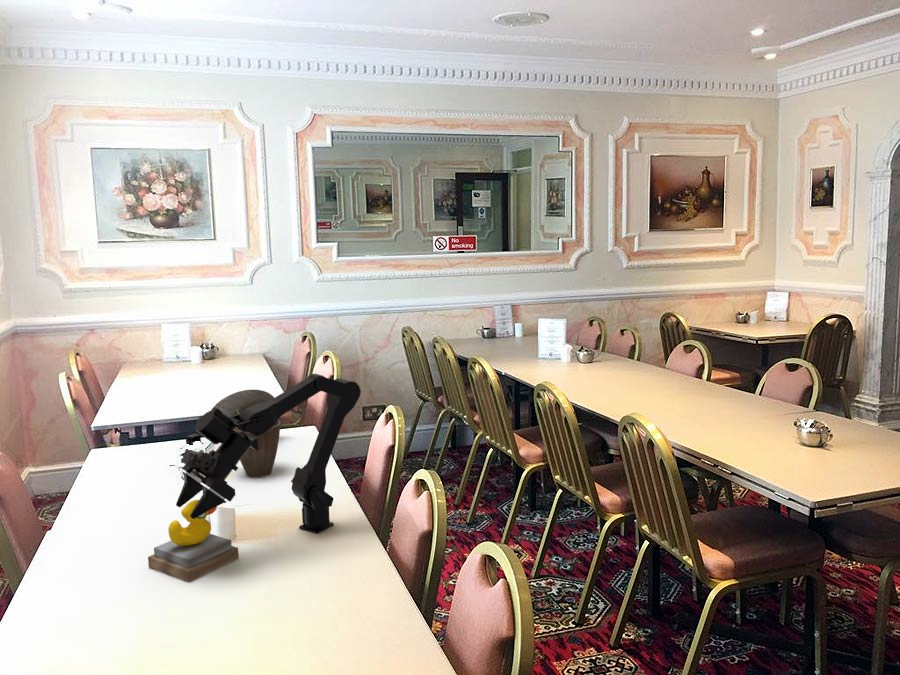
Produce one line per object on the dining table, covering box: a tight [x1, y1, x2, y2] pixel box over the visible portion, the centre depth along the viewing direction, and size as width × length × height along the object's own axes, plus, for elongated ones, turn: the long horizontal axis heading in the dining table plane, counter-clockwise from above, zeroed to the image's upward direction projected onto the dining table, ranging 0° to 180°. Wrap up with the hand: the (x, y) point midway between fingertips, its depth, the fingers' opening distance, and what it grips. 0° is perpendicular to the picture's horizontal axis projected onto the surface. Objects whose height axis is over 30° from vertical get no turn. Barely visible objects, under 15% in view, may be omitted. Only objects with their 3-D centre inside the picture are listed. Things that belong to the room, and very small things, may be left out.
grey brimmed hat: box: [211, 389, 281, 436], centre depth 264 cm, size 25×18×25 cm
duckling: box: [167, 499, 218, 546], centre depth 174 cm, size 11×5×10 cm, turn 127°
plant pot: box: [233, 419, 281, 478], centre depth 236 cm, size 15×15×16 cm
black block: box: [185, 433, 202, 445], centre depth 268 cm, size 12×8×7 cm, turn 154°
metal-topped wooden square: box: [147, 533, 240, 583], centre depth 174 cm, size 14×14×4 cm
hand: (184, 511), depth 172 cm, fingers open, 9 cm apart
